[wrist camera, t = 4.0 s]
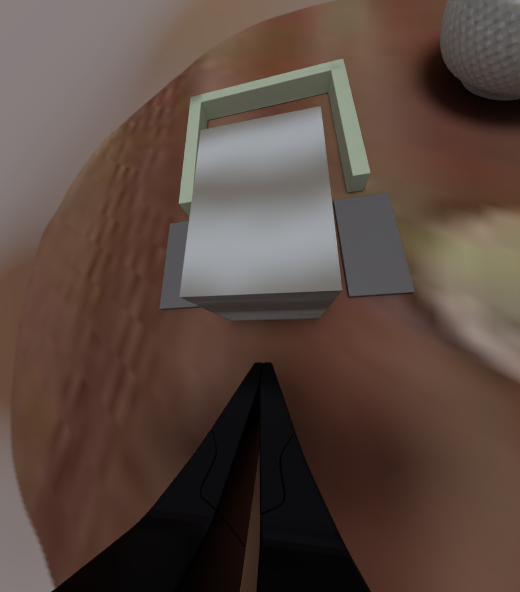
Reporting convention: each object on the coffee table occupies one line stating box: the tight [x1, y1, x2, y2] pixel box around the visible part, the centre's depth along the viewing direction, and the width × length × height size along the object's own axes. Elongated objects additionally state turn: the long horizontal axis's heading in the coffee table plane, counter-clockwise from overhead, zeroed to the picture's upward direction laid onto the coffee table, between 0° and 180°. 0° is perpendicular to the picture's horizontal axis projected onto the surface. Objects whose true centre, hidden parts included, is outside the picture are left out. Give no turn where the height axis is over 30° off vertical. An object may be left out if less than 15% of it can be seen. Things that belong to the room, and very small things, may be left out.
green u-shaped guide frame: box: [160, 59, 415, 310], centre depth 20 cm, size 28×23×2 cm
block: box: [179, 106, 342, 320], centre depth 15 cm, size 12×8×8 cm, turn 0°
